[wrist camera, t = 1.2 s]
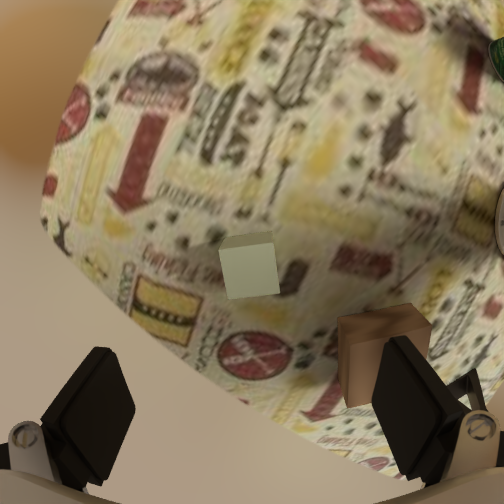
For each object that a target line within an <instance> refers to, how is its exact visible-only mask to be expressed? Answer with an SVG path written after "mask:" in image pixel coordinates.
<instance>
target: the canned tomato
mask: <svg viewBox="0 0 504 504" xmlns="http://www.w3.org/2000/svg"><path fill="white" fill-rule="evenodd" d="M488 51H489V57H490V60H491V63H492V65H493V68H494V69H495V71H496V73H497V75H498V76H499V77H500V79H501V80H502V81H503V82H504V37H502V38H500V39H497V40H495V41H492V42H491V43H490V44H489V48H488Z"/></svg>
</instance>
